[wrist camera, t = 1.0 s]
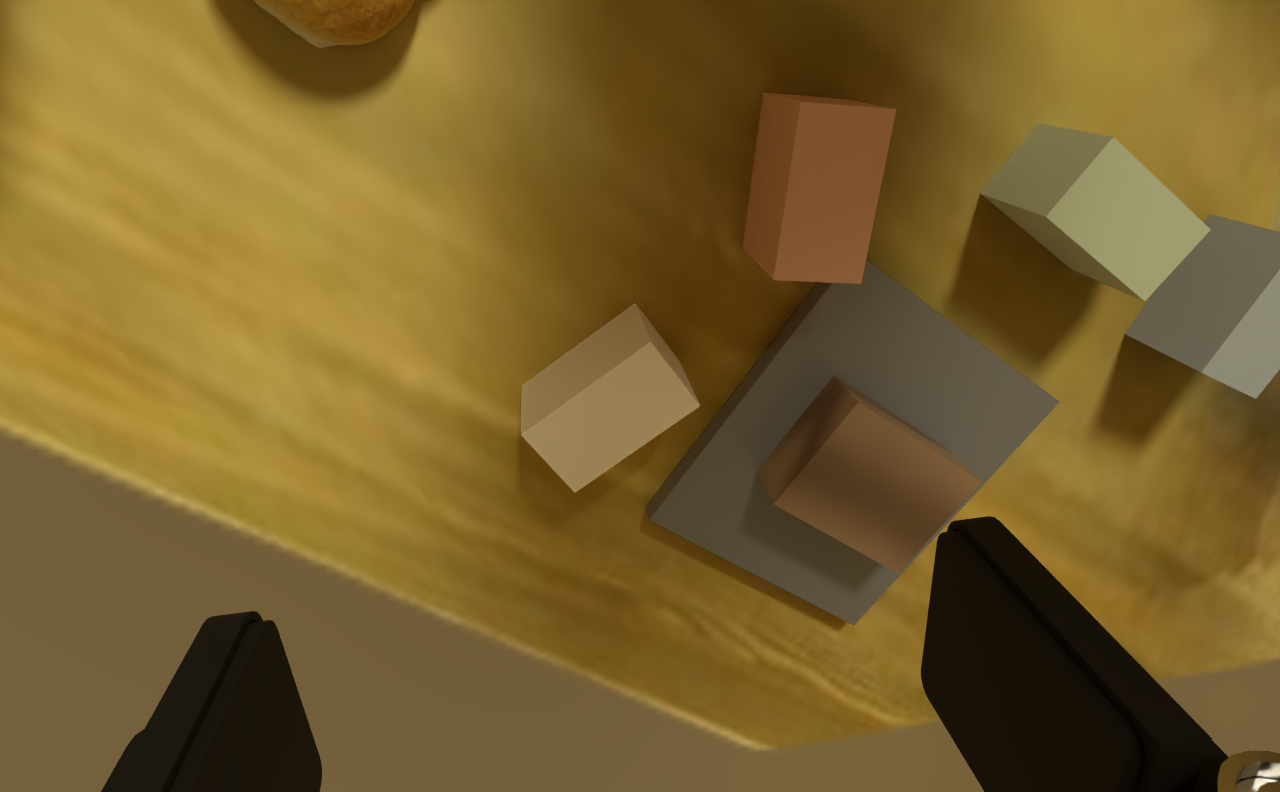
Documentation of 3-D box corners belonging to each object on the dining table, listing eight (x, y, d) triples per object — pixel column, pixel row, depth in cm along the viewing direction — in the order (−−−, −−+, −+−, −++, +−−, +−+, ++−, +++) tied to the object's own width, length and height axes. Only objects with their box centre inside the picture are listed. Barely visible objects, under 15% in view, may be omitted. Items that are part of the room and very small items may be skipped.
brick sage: (979, 193, 35) (1045, 216, 30) (1035, 123, 34) (1113, 136, 29) (1070, 269, 37) (1144, 301, 33) (1125, 205, 36) (1210, 229, 32)
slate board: (846, 245, 35) (855, 252, 34) (1045, 391, 40) (1059, 402, 39) (645, 507, 40) (648, 520, 38) (845, 610, 44) (853, 625, 43)
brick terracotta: (762, 92, 32) (800, 101, 27) (845, 98, 32) (896, 109, 28) (741, 248, 35) (773, 280, 30) (818, 251, 35) (861, 283, 31)
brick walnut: (833, 374, 36) (858, 402, 34) (950, 451, 39) (982, 482, 36) (756, 471, 38) (773, 504, 35) (873, 537, 41) (897, 573, 38)
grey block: (1208, 213, 37) (1303, 238, 32) (1259, 242, 38) (1358, 270, 33) (1123, 333, 39) (1201, 372, 34) (1174, 357, 40) (1255, 398, 36)
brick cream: (634, 302, 35) (650, 341, 30) (679, 360, 36) (700, 405, 32) (521, 384, 36) (520, 434, 31) (569, 437, 37) (574, 492, 33)
